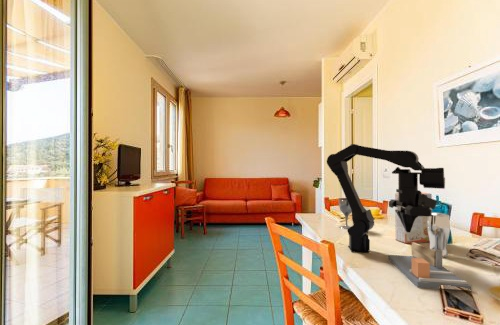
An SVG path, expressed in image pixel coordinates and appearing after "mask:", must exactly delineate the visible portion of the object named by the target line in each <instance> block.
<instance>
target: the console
mask: <svg viewBox="0 0 500 325" xmlns="http://www.w3.org/2000/svg"><path fill="white" fill-rule="evenodd" d="M412 258H416V257H414V256H412V255H400V254H399V255H398V254H388V260H389V262H391V263H392V264H393V265H394V266H395V267H396V268H397V269H398V270H399V271H400V272H401V273H402V274H403V275H404V276H405V277H406V278H407V279H408V280H409V281H410V282H412V284H414V286H415V287H416V288H418V289H419V288H421V289H434V290H440V289H439V286H440V285H451V286H456V287H465V288H468V289H470V290H471V291H472V285H471V284H469V283H468V281H467V280H464V279H462V278H461V277H459V276H458V275H456V274H455V272H453V271H450V270H449V269H447V268H446V267H444V266H443V257H442V250H436V266H433V265H431V264H430V278H418V277H416V276H415V275H414V274H413V273H412V272H411V267H412Z"/></svg>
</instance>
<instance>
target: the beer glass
mask: <svg viewBox="0 0 500 325" xmlns="http://www.w3.org/2000/svg"><path fill="white" fill-rule="evenodd" d="M427 232H428V237H429V242H428V245H429V247H428V248H429V249H432V250H434V251H436V250H442V258H449V251H448V242H449V236H450V233H451V220H450V215H449V214H448V213H442V212H433V211H432V216H427Z"/></svg>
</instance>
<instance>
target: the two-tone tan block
mask: <svg viewBox="0 0 500 325" xmlns="http://www.w3.org/2000/svg"><path fill="white" fill-rule="evenodd" d="M411 256H414V257H416V258H423V259H424V260H426V261H427V262H428V263H430V264H431V265H433V266H436V251H434V250H432V249H429V247H427V246H424V245H423V244H419V243H415V242H412V243H411Z"/></svg>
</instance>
